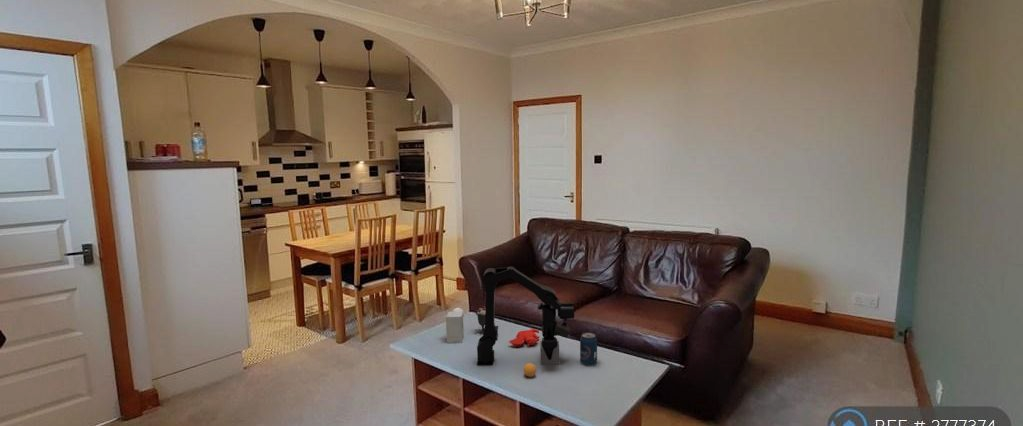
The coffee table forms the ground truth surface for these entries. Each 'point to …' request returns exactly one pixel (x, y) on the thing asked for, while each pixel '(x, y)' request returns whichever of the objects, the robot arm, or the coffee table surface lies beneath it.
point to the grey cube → (554, 358)
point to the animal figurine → (525, 338)
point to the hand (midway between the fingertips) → (549, 354)
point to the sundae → (481, 318)
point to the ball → (529, 369)
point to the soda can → (588, 349)
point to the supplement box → (454, 327)
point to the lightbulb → (458, 310)
